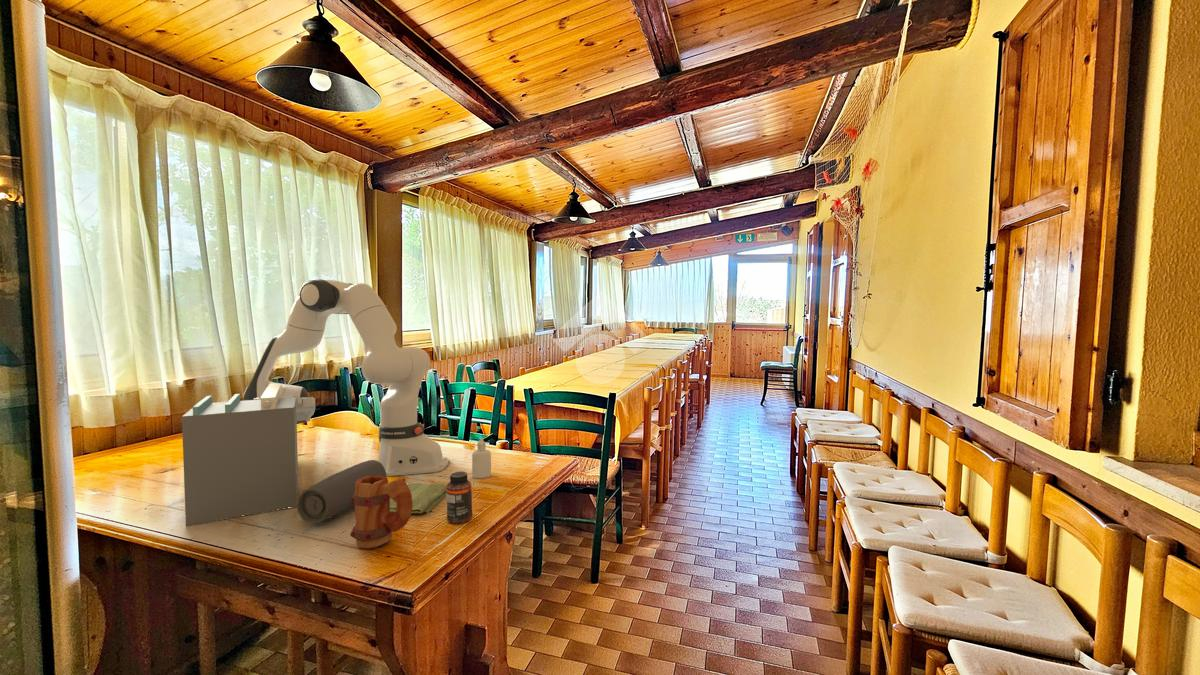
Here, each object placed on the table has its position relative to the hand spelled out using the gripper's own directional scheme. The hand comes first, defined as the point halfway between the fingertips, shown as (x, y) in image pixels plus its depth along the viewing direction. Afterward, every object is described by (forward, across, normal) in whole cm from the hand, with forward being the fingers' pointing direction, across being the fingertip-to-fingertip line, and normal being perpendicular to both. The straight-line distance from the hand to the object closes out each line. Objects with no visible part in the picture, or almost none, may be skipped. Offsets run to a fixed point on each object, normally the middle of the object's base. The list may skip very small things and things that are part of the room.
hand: (275, 398), depth 143 cm
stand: (+4, -6, +30) cm, 31 cm away
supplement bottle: (+36, +40, +50) cm, 73 cm away
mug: (+40, +22, +52) cm, 69 cm away
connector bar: (+14, 0, +6) cm, 15 cm away
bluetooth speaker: (+18, +16, +39) cm, 46 cm away
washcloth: (+21, +33, +42) cm, 57 cm away
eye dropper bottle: (+12, +54, +36) cm, 66 cm away
